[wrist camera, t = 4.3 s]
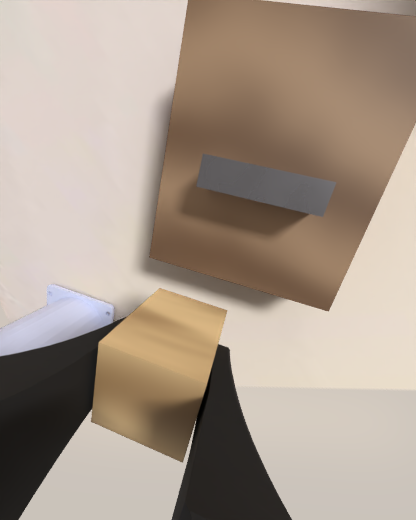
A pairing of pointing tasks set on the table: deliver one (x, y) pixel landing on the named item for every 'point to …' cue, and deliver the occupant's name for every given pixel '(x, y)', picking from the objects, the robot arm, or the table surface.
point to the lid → (282, 141)
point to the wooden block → (157, 371)
